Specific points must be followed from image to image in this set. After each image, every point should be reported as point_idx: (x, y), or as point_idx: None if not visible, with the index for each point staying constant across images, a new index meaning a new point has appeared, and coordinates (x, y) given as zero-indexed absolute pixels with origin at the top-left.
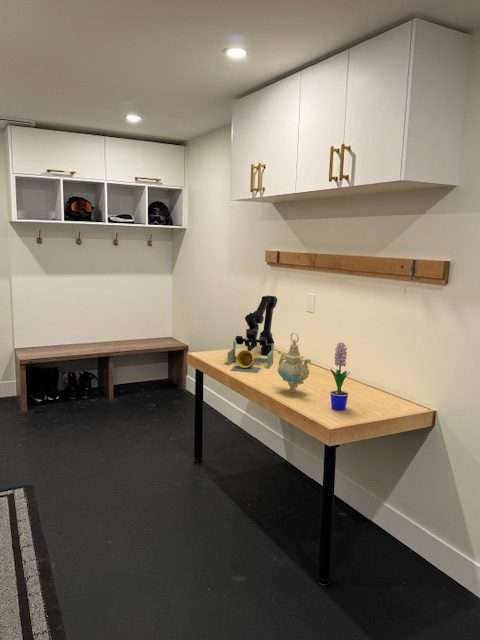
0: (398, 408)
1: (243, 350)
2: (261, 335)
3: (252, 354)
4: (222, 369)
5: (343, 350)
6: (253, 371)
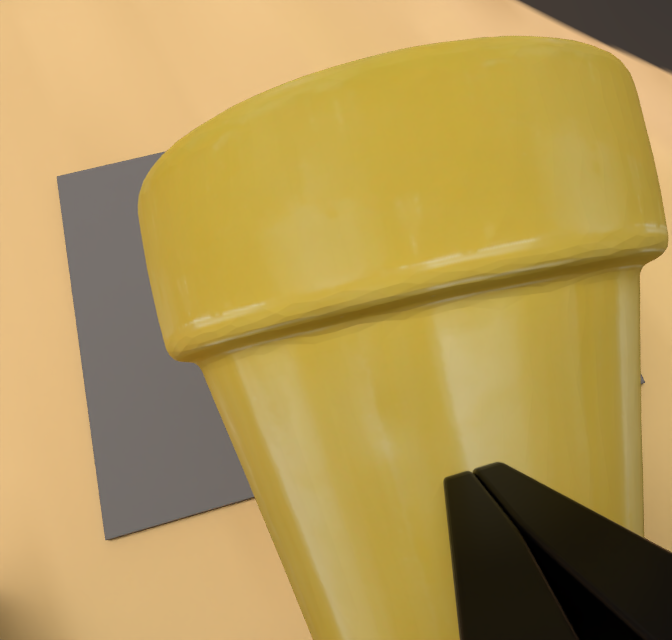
0: None
1: (510, 36)
2: None
3: (160, 200)
4: (637, 86)
5: None
6: None
